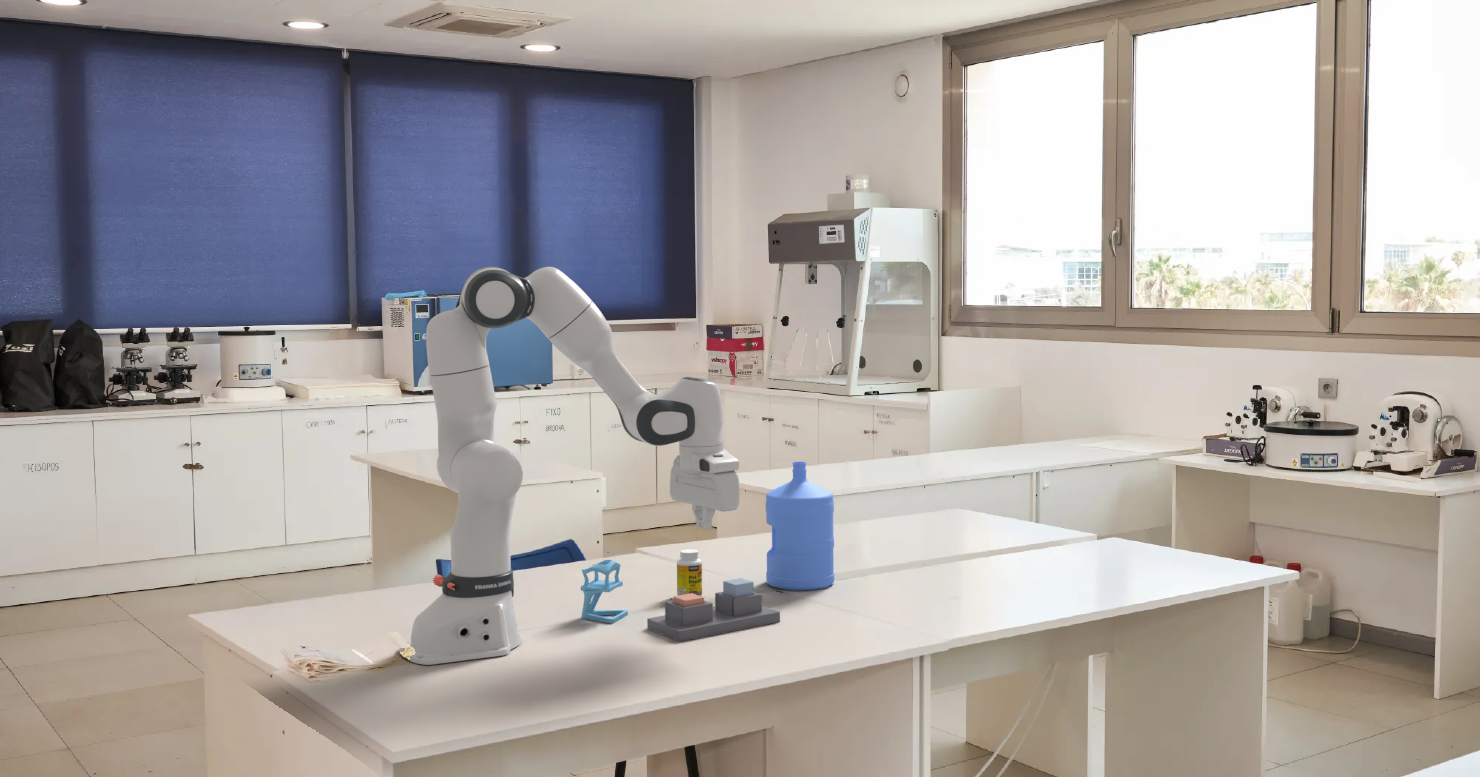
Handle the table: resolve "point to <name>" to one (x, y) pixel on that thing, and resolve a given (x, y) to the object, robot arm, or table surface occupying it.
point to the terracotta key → (688, 600)
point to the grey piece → (712, 617)
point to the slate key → (738, 588)
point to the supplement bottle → (689, 573)
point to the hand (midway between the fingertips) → (704, 528)
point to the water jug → (800, 534)
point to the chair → (597, 588)
